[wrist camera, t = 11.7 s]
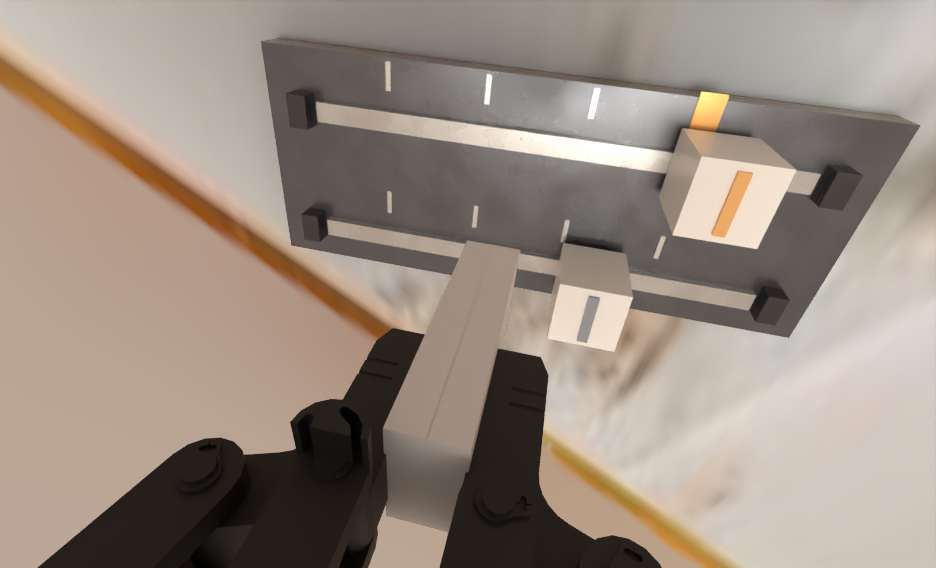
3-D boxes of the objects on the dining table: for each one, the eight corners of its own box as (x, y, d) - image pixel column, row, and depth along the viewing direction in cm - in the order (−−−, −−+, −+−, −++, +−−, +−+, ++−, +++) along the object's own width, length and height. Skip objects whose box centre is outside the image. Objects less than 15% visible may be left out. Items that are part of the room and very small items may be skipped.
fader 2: (682, 128, 25) (702, 157, 20) (760, 138, 24) (798, 171, 20) (658, 197, 27) (672, 237, 23) (730, 208, 26) (758, 251, 22)
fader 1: (563, 242, 30) (559, 285, 26) (625, 253, 29) (633, 299, 25) (551, 293, 32) (547, 340, 28) (610, 303, 32) (614, 353, 27)
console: (278, 32, 29) (248, 37, 26) (901, 110, 25) (939, 125, 22) (304, 233, 37) (283, 252, 34) (778, 319, 33) (795, 349, 30)
